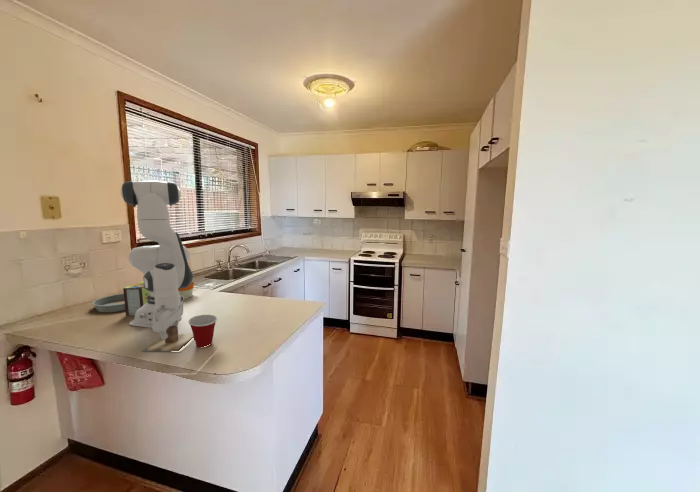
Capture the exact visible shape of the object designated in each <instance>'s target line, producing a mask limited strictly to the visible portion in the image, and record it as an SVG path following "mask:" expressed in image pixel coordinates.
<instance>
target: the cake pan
mask: <svg viewBox="0 0 700 492" xmlns="http://www.w3.org/2000/svg"><path fill="white" fill-rule="evenodd" d="M123 301H124V292H123V293H117V294H116V293H115V294H112V295H107V296H103V297H100V298H97V299H95V300H93V301H92V303H91V305H93V306H94V307H95V310H96V311H97V312H99V313H113V312H121V311H126V310H125V301H124V302H123ZM117 302H118V303H117Z"/></svg>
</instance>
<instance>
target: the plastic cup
mask: <svg viewBox="0 0 700 492" xmlns="http://www.w3.org/2000/svg"><path fill="white" fill-rule="evenodd" d="M217 321H218V317H217V316H216V315H213V314H199V315H195V316H192V317H191V318H190V319H189V320H188V325H190V328H191V331H192V334H193V336H194V343H195V346H196V347H197V348H198V347H204V346H207V345H209V344H211V343H212V344H213V338H214V333H215V326H216V322H217ZM212 344H211V345H212Z"/></svg>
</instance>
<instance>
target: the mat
mask: <svg viewBox="0 0 700 492" xmlns="http://www.w3.org/2000/svg"><path fill="white" fill-rule="evenodd" d="M152 344H153V343H151V344H150V345H152ZM150 345H148V346H147V347H149V346H150ZM140 353H172V352H171V351H146V348H144V349H142V351H140Z"/></svg>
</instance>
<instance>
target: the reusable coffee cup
mask: <svg viewBox="0 0 700 492" xmlns="http://www.w3.org/2000/svg"><path fill="white" fill-rule="evenodd" d="M191 272H192V276H193V281H192V282H191V284H190V285H189V286H188V287H186V288H179V289H178V291H179V295H180V296H184V299H187V298H191V297H192V296H193V291H194V287H195V286H194V285H195V280H194V278H195V273H194V272H193V271H191Z"/></svg>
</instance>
